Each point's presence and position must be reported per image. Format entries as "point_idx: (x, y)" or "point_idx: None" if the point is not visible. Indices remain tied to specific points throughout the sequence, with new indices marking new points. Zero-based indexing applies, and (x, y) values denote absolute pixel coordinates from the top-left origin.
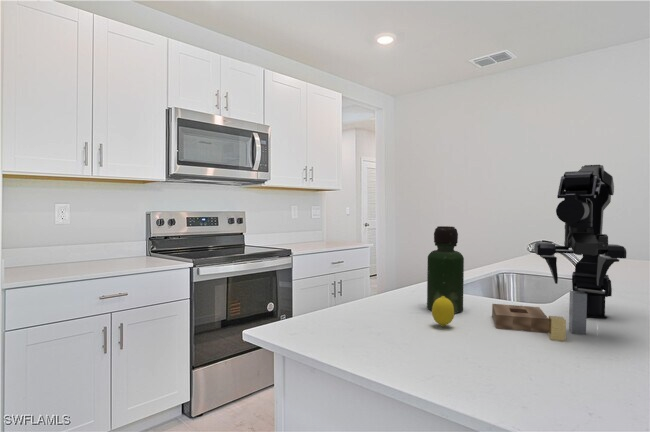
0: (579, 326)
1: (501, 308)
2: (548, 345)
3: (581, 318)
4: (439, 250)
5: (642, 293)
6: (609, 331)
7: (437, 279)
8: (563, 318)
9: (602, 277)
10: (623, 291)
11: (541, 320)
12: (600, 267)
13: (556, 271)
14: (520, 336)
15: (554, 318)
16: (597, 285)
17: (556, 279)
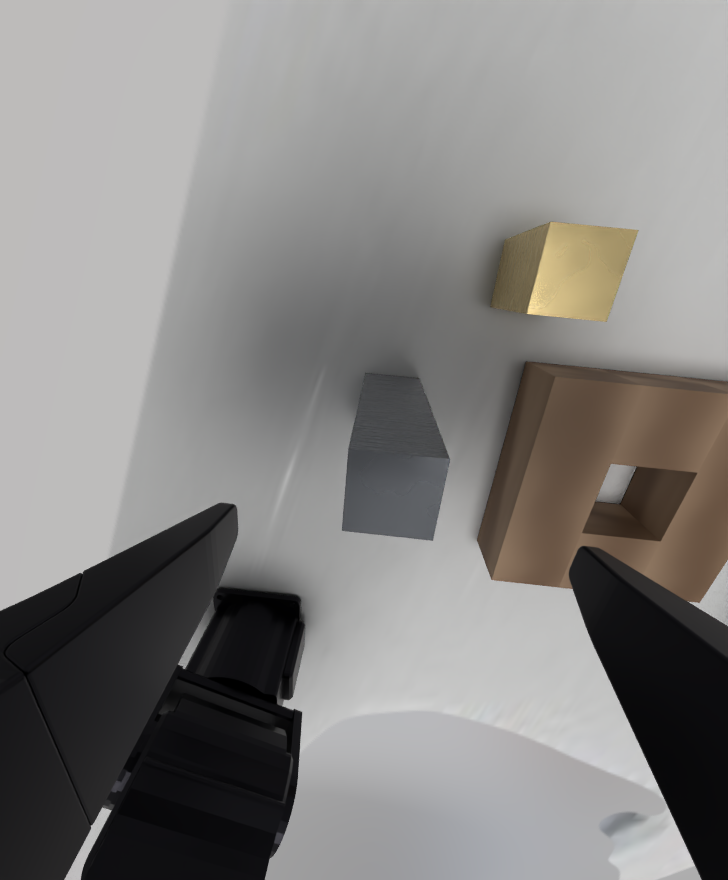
0: (392, 383)
1: (706, 530)
2: (632, 135)
3: (384, 393)
4: None
5: None
6: (254, 440)
7: None
8: (543, 268)
9: (156, 544)
10: (101, 826)
11: (585, 376)
12: (84, 697)
13: (717, 645)
14: (700, 272)
15: (608, 249)
16: (237, 526)
17: (622, 569)
